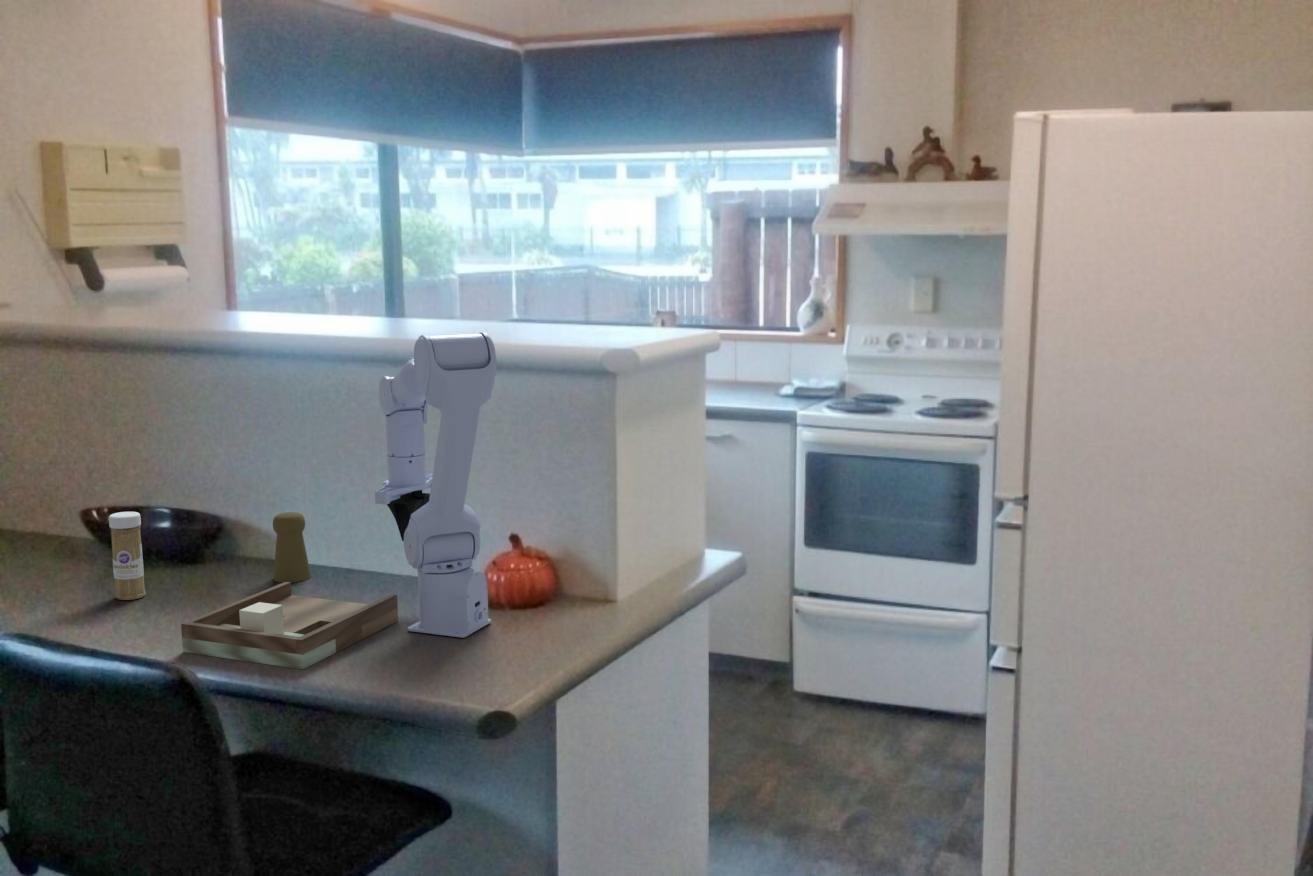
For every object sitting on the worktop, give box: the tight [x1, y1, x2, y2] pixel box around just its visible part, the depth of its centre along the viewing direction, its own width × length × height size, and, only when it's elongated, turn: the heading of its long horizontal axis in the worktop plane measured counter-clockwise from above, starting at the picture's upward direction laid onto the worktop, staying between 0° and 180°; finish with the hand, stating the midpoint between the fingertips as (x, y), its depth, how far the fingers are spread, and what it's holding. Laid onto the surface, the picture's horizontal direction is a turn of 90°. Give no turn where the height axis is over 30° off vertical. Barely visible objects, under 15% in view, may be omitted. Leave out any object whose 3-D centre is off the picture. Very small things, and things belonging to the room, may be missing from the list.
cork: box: [272, 511, 312, 584], centre depth 205 cm, size 6×6×11 cm
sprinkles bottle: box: [108, 511, 147, 601], centre depth 194 cm, size 5×5×13 cm
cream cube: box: [239, 602, 284, 634], centre depth 169 cm, size 4×4×4 cm
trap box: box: [180, 582, 399, 670], centre depth 175 cm, size 20×22×4 cm
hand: (410, 540), depth 191 cm, fingers closed
